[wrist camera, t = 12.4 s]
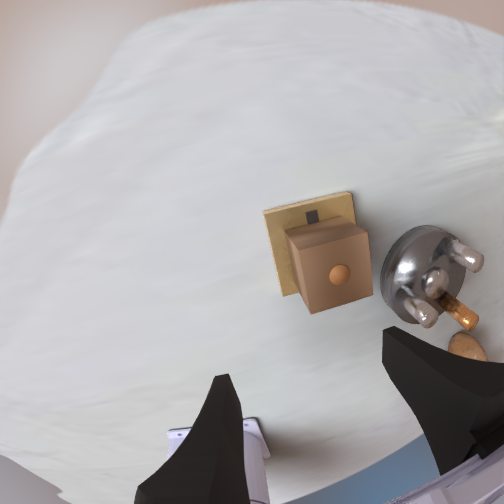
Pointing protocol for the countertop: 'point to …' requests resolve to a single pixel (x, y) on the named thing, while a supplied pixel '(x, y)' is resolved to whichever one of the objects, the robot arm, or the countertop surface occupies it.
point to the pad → (298, 217)
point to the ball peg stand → (428, 277)
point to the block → (330, 263)
